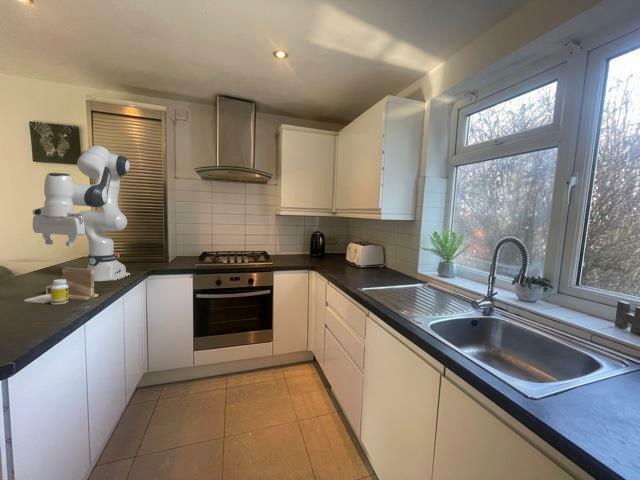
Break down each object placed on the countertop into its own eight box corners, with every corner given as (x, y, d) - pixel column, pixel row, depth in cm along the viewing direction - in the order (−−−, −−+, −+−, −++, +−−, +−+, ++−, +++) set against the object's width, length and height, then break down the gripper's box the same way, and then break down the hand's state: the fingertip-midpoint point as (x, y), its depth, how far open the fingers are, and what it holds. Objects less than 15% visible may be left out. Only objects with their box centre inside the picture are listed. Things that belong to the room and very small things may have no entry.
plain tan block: (53, 292, 129) (53, 284, 128) (62, 292, 129) (62, 284, 129) (45, 294, 125) (45, 286, 124) (56, 295, 125) (55, 286, 125)
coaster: (47, 295, 124) (47, 293, 123) (65, 297, 123) (65, 295, 123) (24, 301, 115) (24, 299, 114) (43, 303, 114) (43, 301, 114)
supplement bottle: (68, 303, 116) (68, 280, 115) (50, 305, 112) (50, 282, 111) (68, 300, 120) (68, 278, 119) (51, 302, 116) (50, 279, 115)
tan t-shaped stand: (70, 293, 129) (70, 266, 127) (98, 296, 127) (98, 268, 126) (57, 297, 123) (57, 268, 122) (86, 299, 121) (86, 271, 120)
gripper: (89, 214, 115) (89, 246, 116) (45, 210, 117) (45, 242, 118) (74, 213, 109) (74, 247, 110) (28, 210, 111) (28, 244, 112)
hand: (59, 245), depth 114 cm, fingers open, 8 cm apart
